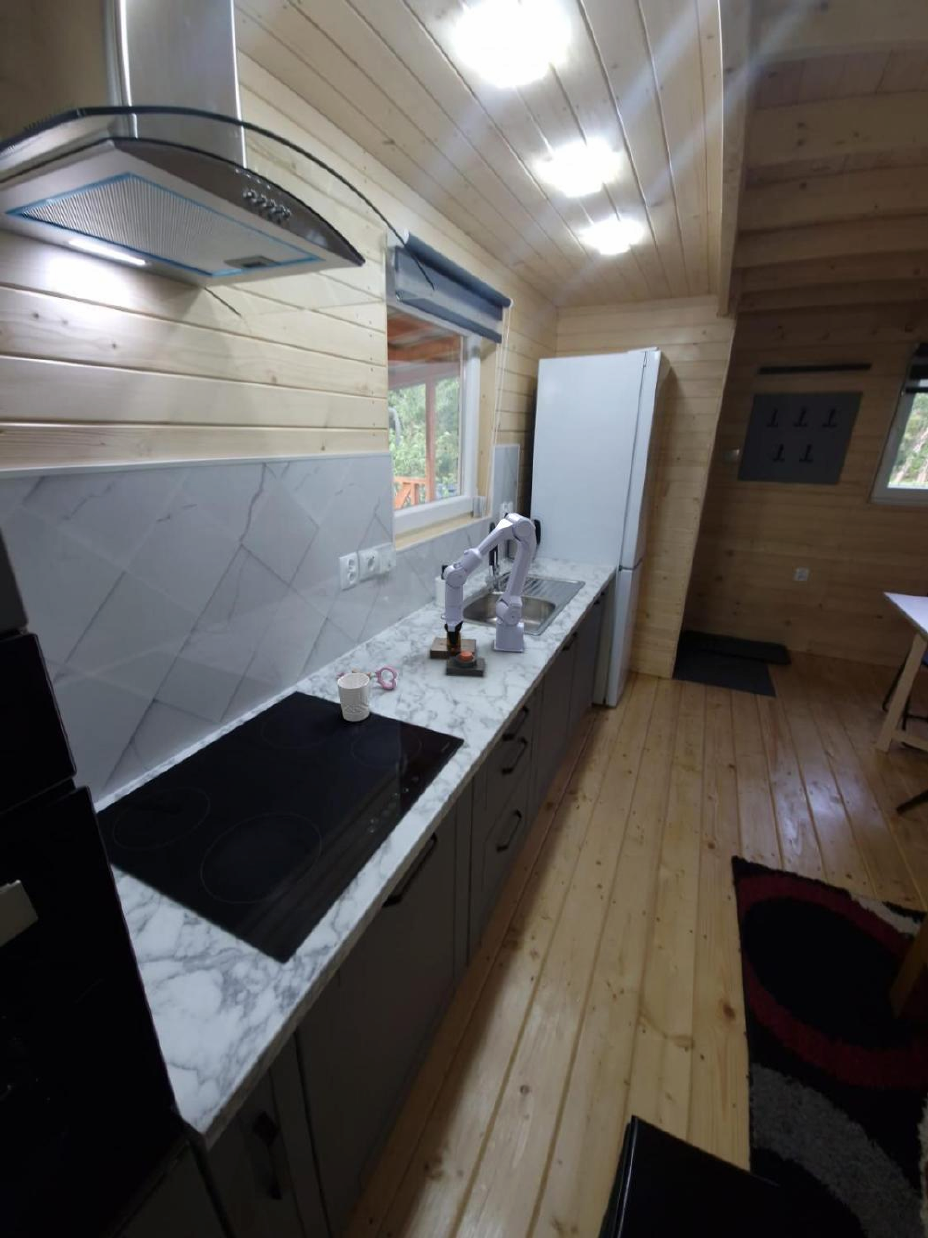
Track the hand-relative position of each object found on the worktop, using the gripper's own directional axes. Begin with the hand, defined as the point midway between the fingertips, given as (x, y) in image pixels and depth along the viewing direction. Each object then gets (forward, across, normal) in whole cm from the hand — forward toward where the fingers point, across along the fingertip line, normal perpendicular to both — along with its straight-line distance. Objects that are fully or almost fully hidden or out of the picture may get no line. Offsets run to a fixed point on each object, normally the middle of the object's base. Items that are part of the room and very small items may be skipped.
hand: (453, 643), depth 161 cm
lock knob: (0, 0, 0) cm, 0 cm away
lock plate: (+3, 0, 0) cm, 3 cm away
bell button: (0, +11, +5) cm, 12 cm away
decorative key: (+4, +23, -23) cm, 33 cm away
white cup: (+4, +39, -21) cm, 44 cm away
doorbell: (+3, +11, +5) cm, 13 cm away
